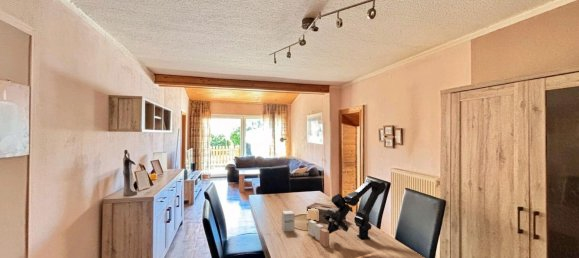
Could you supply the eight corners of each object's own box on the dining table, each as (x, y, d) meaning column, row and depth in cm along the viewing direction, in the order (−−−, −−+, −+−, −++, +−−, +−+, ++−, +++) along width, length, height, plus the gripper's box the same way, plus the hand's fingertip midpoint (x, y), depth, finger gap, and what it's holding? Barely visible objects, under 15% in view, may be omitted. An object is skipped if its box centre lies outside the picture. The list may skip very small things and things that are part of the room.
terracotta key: (324, 242, 158) (324, 228, 158) (329, 245, 153) (329, 231, 153) (319, 243, 156) (319, 229, 156) (324, 246, 152) (324, 232, 152)
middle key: (319, 237, 166) (319, 223, 166) (323, 240, 161) (323, 226, 162) (315, 238, 164) (315, 224, 165) (319, 241, 160) (319, 227, 160)
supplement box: (283, 233, 175) (283, 213, 175) (281, 229, 182) (281, 210, 183) (294, 232, 177) (294, 213, 177) (291, 228, 184) (292, 210, 184)
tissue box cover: (306, 219, 204) (306, 206, 204) (315, 214, 216) (315, 202, 216) (338, 226, 190) (338, 212, 190) (345, 220, 202) (345, 207, 202)
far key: (312, 233, 173) (312, 220, 173) (316, 235, 168) (316, 222, 169) (308, 233, 171) (308, 220, 172) (312, 236, 167) (312, 223, 167)
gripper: (325, 200, 167) (310, 221, 161) (344, 208, 150) (328, 231, 145) (335, 212, 170) (320, 232, 165) (355, 220, 154) (339, 243, 148)
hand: (326, 234), depth 156 cm, fingers closed, pressing on terracotta key
